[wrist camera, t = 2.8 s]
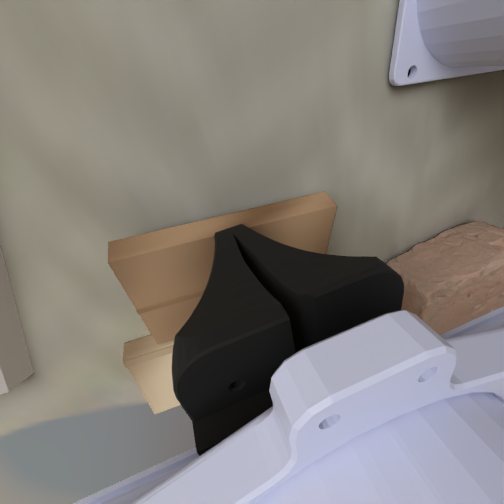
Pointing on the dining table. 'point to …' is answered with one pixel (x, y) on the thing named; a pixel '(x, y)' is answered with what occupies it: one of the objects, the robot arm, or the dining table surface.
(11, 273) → the dining table surface
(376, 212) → the dining table surface
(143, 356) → the floor strip
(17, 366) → the crown molding
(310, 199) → the plank
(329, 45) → the dining table surface
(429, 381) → the robot arm
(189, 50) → the dining table surface
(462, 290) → the brick
